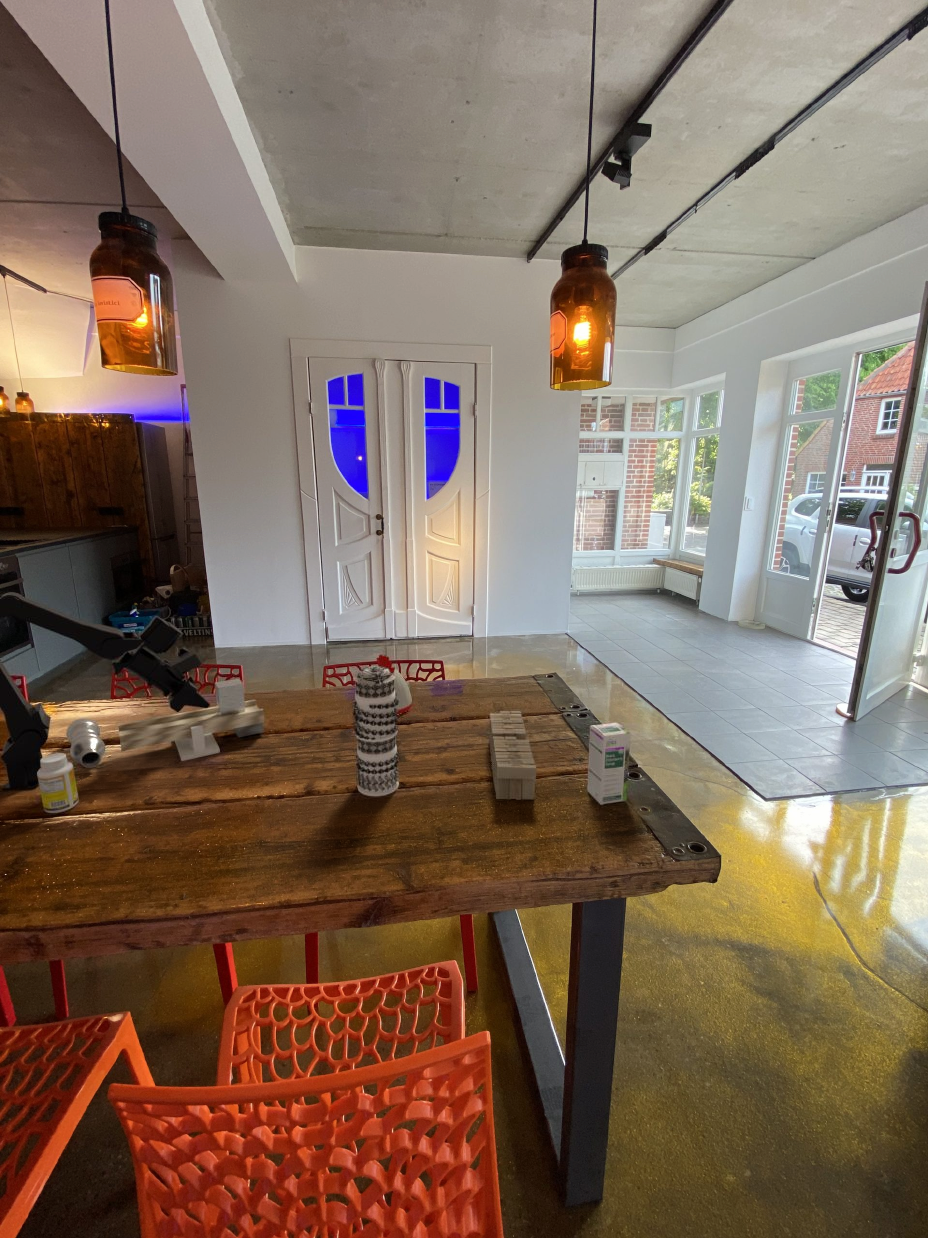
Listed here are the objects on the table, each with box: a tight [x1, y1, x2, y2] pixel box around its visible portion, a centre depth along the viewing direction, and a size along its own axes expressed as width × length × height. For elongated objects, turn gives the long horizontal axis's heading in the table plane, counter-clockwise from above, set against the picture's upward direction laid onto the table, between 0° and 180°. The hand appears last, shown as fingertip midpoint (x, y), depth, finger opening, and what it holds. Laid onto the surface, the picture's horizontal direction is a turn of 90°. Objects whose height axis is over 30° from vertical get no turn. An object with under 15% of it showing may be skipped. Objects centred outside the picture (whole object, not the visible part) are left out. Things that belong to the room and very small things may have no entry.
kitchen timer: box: [375, 654, 413, 714], centre depth 157 cm, size 14×14×15 cm
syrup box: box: [586, 721, 631, 806], centre depth 111 cm, size 6×6×14 cm
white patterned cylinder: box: [351, 665, 400, 797], centre depth 114 cm, size 9×9×25 cm
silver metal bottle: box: [65, 717, 107, 768], centre depth 128 cm, size 6×7×20 cm
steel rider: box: [214, 678, 246, 717], centre depth 137 cm, size 6×4×8 cm
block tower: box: [488, 710, 537, 801], centre depth 123 cm, size 8×8×29 cm
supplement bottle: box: [37, 752, 80, 814], centre depth 107 cm, size 6×6×10 cm
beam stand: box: [174, 725, 221, 762], centre depth 134 cm, size 8×14×7 cm, turn 33°
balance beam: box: [117, 698, 265, 752], centre depth 133 cm, size 30×8×6 cm, turn 123°
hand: (208, 706), depth 134 cm, fingers closed
